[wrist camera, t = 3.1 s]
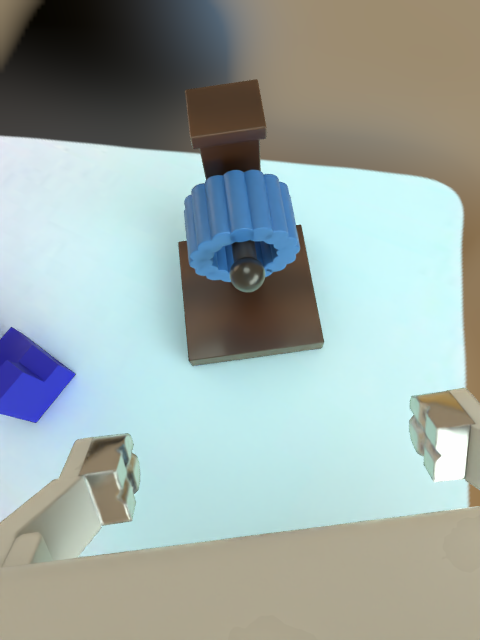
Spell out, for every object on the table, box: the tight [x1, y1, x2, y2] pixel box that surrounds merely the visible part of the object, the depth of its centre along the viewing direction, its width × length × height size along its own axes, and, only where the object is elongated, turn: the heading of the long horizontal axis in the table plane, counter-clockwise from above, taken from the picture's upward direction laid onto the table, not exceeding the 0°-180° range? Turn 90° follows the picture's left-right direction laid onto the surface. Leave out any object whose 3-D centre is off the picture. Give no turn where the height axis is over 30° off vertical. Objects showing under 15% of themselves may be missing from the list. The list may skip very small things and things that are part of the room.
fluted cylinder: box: [184, 170, 300, 282], centre depth 25 cm, size 3×6×6 cm, turn 97°
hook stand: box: [178, 80, 324, 366], centre depth 29 cm, size 10×10×17 cm
